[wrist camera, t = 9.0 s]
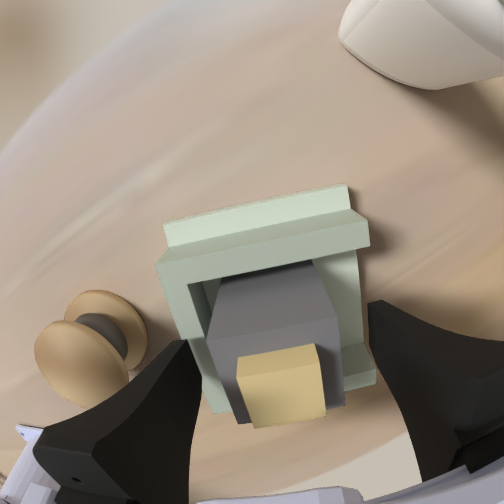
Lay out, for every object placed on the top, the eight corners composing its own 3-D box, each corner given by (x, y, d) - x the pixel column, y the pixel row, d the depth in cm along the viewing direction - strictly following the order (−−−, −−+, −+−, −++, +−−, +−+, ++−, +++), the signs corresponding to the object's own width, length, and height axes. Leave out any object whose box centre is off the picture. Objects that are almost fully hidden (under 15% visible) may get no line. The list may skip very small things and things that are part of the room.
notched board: (361, 362, 17) (376, 397, 14) (223, 388, 17) (219, 426, 14) (342, 183, 14) (363, 193, 11) (167, 221, 14) (146, 240, 11)
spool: (160, 361, 17) (141, 411, 13) (91, 367, 17) (65, 409, 13) (128, 282, 15) (94, 322, 11) (57, 296, 16) (19, 332, 12)
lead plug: (322, 333, 15) (350, 424, 9) (242, 349, 15) (237, 444, 10) (311, 258, 14) (344, 334, 8) (221, 277, 14) (201, 360, 8)
